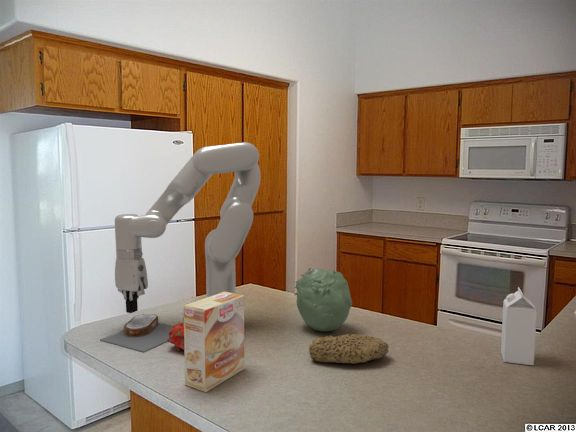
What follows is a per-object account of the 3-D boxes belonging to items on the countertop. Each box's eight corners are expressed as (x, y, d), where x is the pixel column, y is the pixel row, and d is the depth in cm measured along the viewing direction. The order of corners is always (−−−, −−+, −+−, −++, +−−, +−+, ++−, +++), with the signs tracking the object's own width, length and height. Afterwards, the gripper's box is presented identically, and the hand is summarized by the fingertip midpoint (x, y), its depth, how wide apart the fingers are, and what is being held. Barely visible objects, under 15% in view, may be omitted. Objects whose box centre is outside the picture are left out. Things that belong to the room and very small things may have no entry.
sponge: (309, 371, 118) (386, 365, 112) (305, 340, 119) (380, 333, 113) (322, 360, 131) (392, 354, 125) (318, 332, 132) (387, 325, 126)
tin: (119, 337, 138) (147, 339, 138) (119, 326, 137) (147, 329, 137) (136, 320, 153) (161, 322, 153) (137, 311, 152) (162, 313, 152)
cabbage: (343, 343, 134) (344, 276, 132) (285, 333, 142) (285, 270, 140) (359, 326, 148) (360, 266, 146) (305, 318, 156) (306, 261, 154)
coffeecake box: (206, 393, 104) (204, 309, 102) (183, 385, 108) (181, 304, 106) (246, 369, 116) (245, 294, 114) (224, 362, 120) (223, 290, 118)
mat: (191, 330, 144) (191, 329, 144) (143, 352, 127) (143, 351, 127) (150, 321, 153) (150, 320, 153) (100, 340, 136) (99, 339, 136)
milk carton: (529, 355, 125) (532, 288, 123) (533, 366, 118) (537, 294, 116) (500, 352, 127) (504, 285, 125) (503, 362, 120) (507, 292, 118)
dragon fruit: (168, 350, 132) (204, 361, 129) (156, 342, 125) (194, 354, 122) (179, 322, 136) (215, 332, 133) (168, 313, 129) (206, 324, 125)
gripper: (155, 254, 141) (158, 311, 142) (122, 250, 148) (125, 305, 150) (136, 258, 134) (139, 318, 136) (102, 254, 141) (105, 311, 143)
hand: (132, 311), depth 143 cm, fingers closed
